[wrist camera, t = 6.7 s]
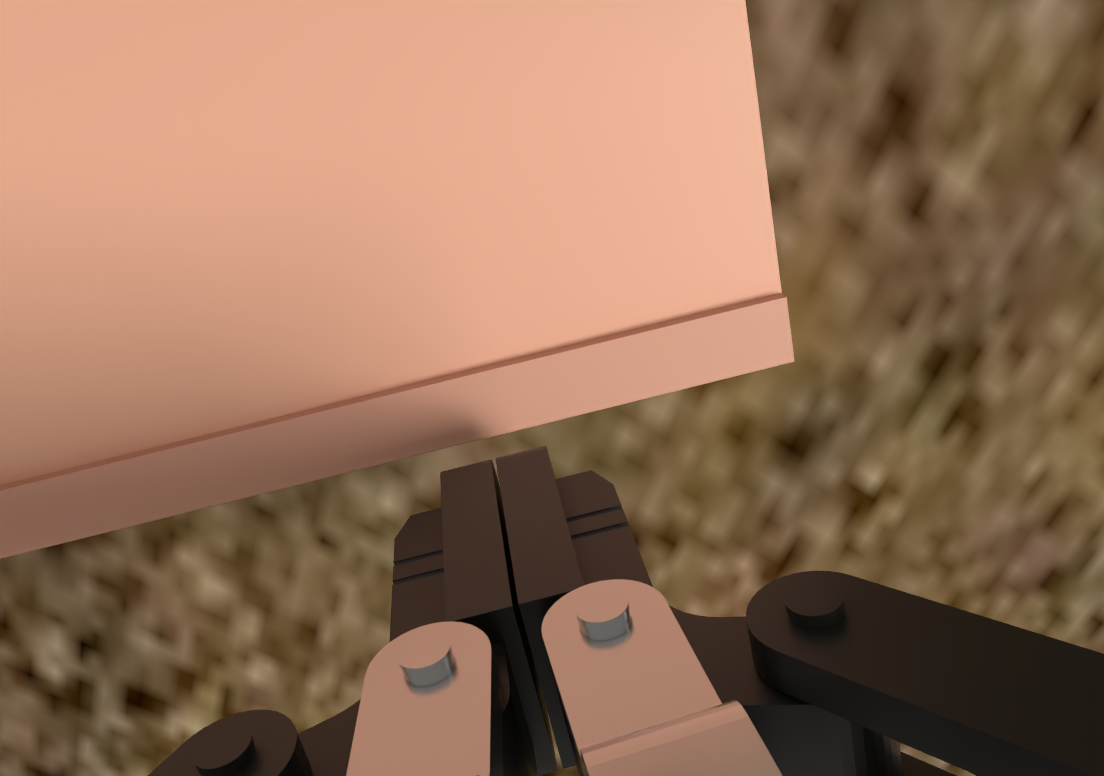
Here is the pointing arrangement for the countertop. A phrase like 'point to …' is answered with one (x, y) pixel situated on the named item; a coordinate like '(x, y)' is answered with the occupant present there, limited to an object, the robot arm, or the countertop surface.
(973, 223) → the countertop surface
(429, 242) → the pink rectangular board
